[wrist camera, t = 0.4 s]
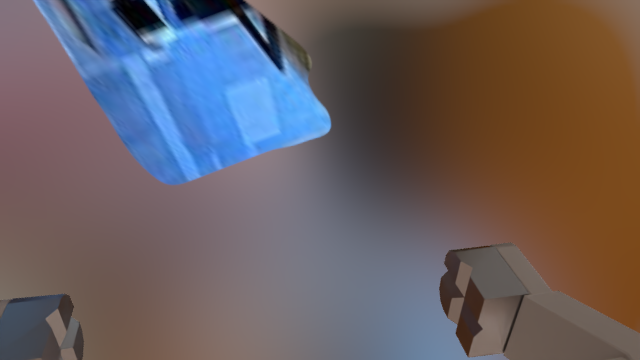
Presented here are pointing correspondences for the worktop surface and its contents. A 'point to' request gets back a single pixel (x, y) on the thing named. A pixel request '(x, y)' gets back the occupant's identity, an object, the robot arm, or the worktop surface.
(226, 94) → the worktop surface
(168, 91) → the worktop surface
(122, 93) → the worktop surface
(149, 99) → the worktop surface
